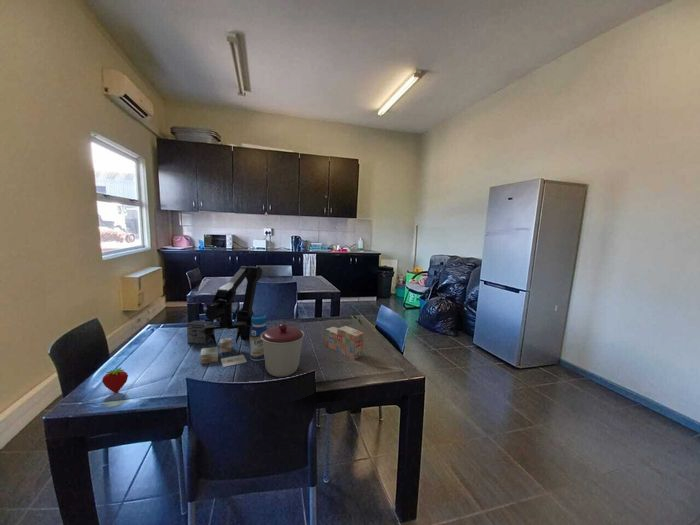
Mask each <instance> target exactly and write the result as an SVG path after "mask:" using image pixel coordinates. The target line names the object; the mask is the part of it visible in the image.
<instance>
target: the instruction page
mask: <svg viewBox="0 0 700 525" xmlns="http://www.w3.org/2000/svg"><path fill="white" fill-rule="evenodd" d="M220 361H221V362H220V363H221V365H222V367H223V368H225V367H229V366H235V365H240V364H245V363H247V362H248V361H247V359H246V357H245V355H244V354H239V355H235V356H234V355H233V356H229V357H223V358H220Z"/></svg>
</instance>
